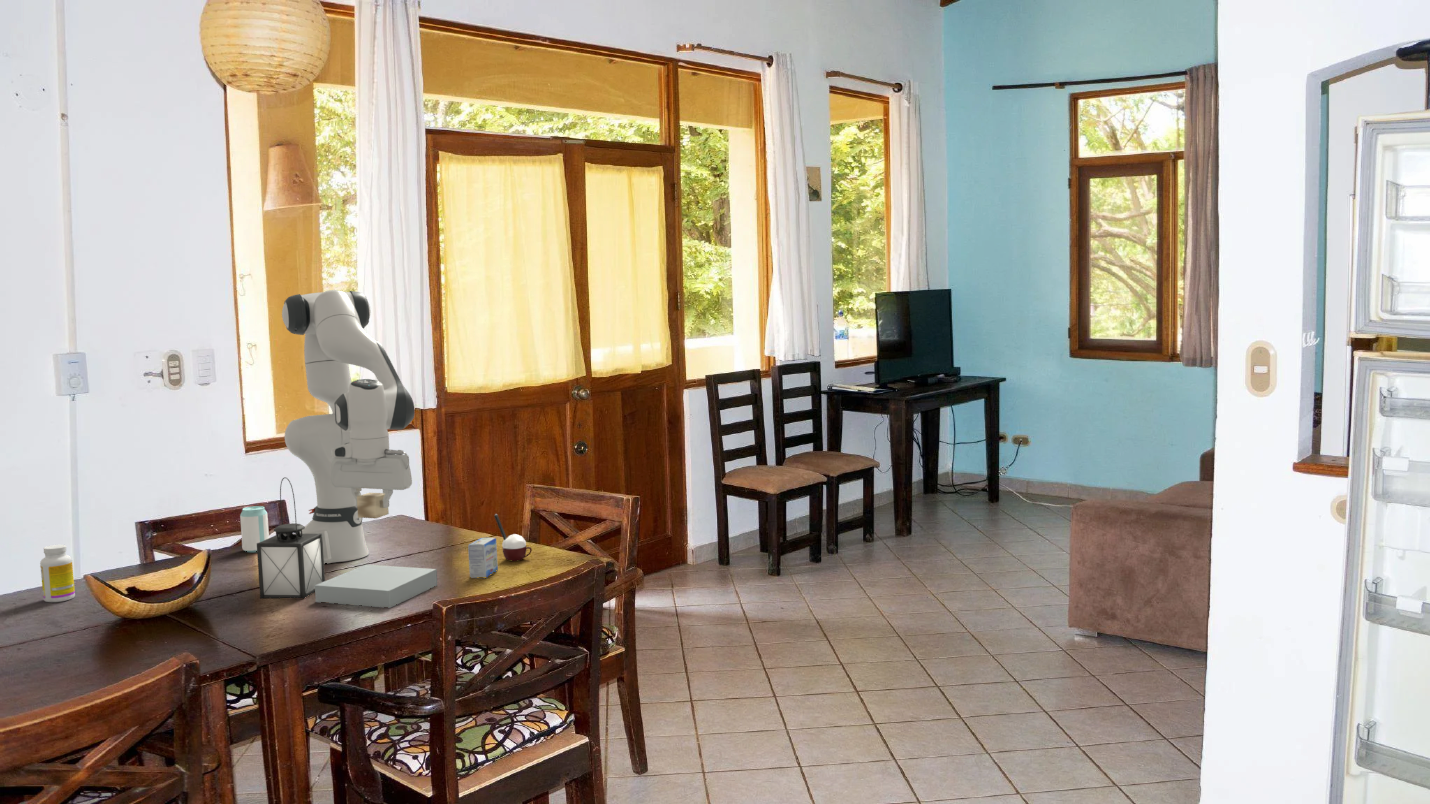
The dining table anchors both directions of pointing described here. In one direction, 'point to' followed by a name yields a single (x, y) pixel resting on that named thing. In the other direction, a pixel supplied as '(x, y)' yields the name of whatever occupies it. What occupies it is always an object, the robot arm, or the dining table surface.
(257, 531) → the can
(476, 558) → the medicine box
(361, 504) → the maple cube
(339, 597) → the stand
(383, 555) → the dining table surface
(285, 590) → the lantern
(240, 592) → the dining table surface
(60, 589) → the supplement bottle
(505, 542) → the cocoa
